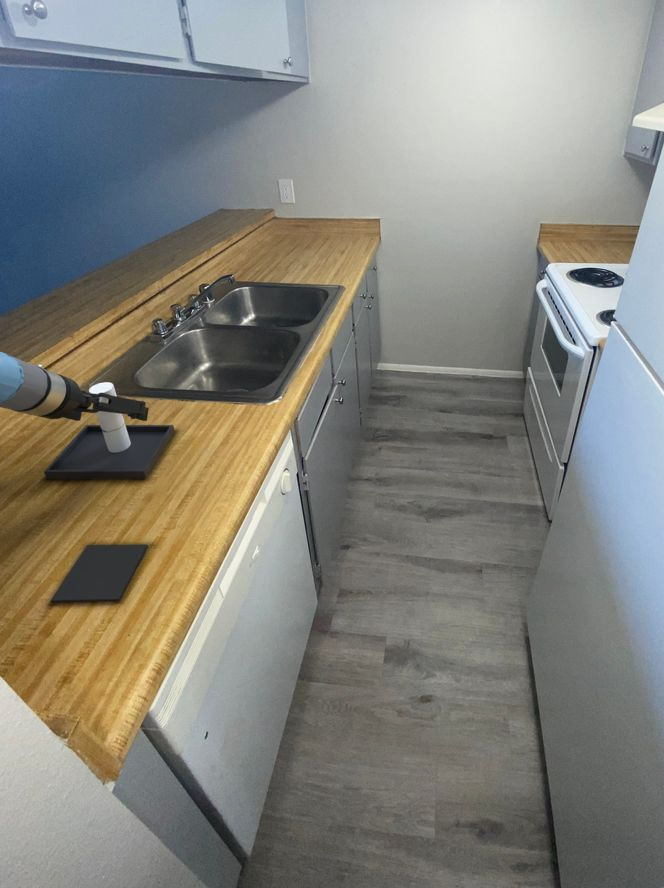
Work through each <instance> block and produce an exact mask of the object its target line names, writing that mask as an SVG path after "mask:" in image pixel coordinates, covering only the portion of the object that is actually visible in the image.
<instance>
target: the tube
mask: <svg viewBox="0 0 664 888" xmlns="http://www.w3.org/2000/svg"><path fill="white" fill-rule="evenodd" d="M88 393H93V394H99V393H105V394H109V395H112V396H117V397H118V395H117V393H116V389H115V385H114V384H113V383H112V382H109V381H104V382H99V383H96V384H94V385H92V386H90V388H89V389H88ZM95 414H96V417H97V420H98V423H99V425H100V426H101V428H102V432H103V435H104V438H105V441H106V444H107V447H108V450H109V451H110V452H121V451H123V450H125V449H127V448H128V447H129V446H130V444H131V443H130V439H129V436H128V432H127V429H126V426H125V425H126V422H125V419H124V416H123V414H118V413H110V412H102V411H98V412H97V413H95Z"/></svg>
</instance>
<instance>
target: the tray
mask: <svg viewBox="0 0 664 888" xmlns="http://www.w3.org/2000/svg"><path fill="white" fill-rule="evenodd" d="M125 426H126V429H127V432H128V436H129V439H130V443H131V444H130V446H129V447H128V448H127V449H125V450H123V451H121V452H110V451H109V450H108V447H107V444H106V441H105V438H104V435H103V432H102V428H101V426H100V424H85V425H84V427H83V428H82V429H81V430H80V431H79V432H78V433H77V434H76V435H75V436H74V438H72V440H71V441H70V442H69V443H68V444H67V445H66V447H65V448H63V450H62V451H61V452H60V453H59V454H58V455H57V456H56V457H55V459H53V461H52V462H51V463H50V464H49V465H48V466H47V467H46V468H45V469H44V471H43V473H44V475H45V478H46V480H146V479H147V478H148V476H149V475H150V473H151V472H152V470H153V468H154V467H155V465H156V464H157V462H158V460H159V459H160V457H161V456H162V454H163V452H164V450H165V449H166V447H167V445H168V444H169V443H170V441H171V439H172V437H173V436H174V435H175V433H176V429H175V427H174V424H125Z"/></svg>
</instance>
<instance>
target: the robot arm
mask: <svg viewBox="0 0 664 888" xmlns="http://www.w3.org/2000/svg"><path fill="white" fill-rule="evenodd" d="M91 406H92V408H90V407H91ZM0 408H3V409H7V410H11V411H13V412H16V413H21V414H26V415H30V416H35V417H39V418H44V419H47V420H60V419H63V418H64V419H68V420H71V421H76V422H80V421H81V419H82V413H88V414H96V413H97V412H98V411H102V412H110V413H118V414H122V415H127V417H129V418H130V420H138V421H142V422H147V421H148V417H149V411H150V410H149V409H150V408H149V407H146V401H144V400H138V399H132V398H126V397H123V396H118V395H117V396H112V395H109V394H105V393H99V394H93V393H90V392H87V391H86V390H81V387H80V386H79V383H77V382H76V381H75V380H74V379H72V378H70V377H67V376H65V375H62V374H59V373H57V372H54V371H50V370H47V369H45V368H43V365H42V364H40V363H39V364H35V365H34V364H32V363H29V362H27V361H25V360H22V359H19V358H17V357H14V356H12V355H10V354H8V353H6V352H4V351H0Z"/></svg>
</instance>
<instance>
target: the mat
mask: <svg viewBox="0 0 664 888" xmlns="http://www.w3.org/2000/svg"><path fill="white" fill-rule="evenodd" d="M148 548H149V545H148V544H87V545H86V546H85V547H84V548H83V550H82V552H81V554H80V555H79V556H78V558H77V560H76V561H75V563H74V564H73V566H72V567H71V569H70V571H69V572H68V573H67V575H66V577H64V580H63V581H62V582H61V584H60V585H59V587H58V588H57V590H56V592H55V593H54V594H53V596H52V598H51V599H50V602H51V603H52V604H58V603H59V604H60V603H106V602H107V603H112V602H113V603H115V602H116V603H117V602H121V600H122V598H123V596H124V594H125V592H126V591H127V588H128V586H129V584H130V583H131V581H132V579H133V577H134V575H135V573H136V571H137V569H138V567H139V565H140V563H141V562H142V560H143V557H144V555H145V554H146V552H147V550H148Z"/></svg>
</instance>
